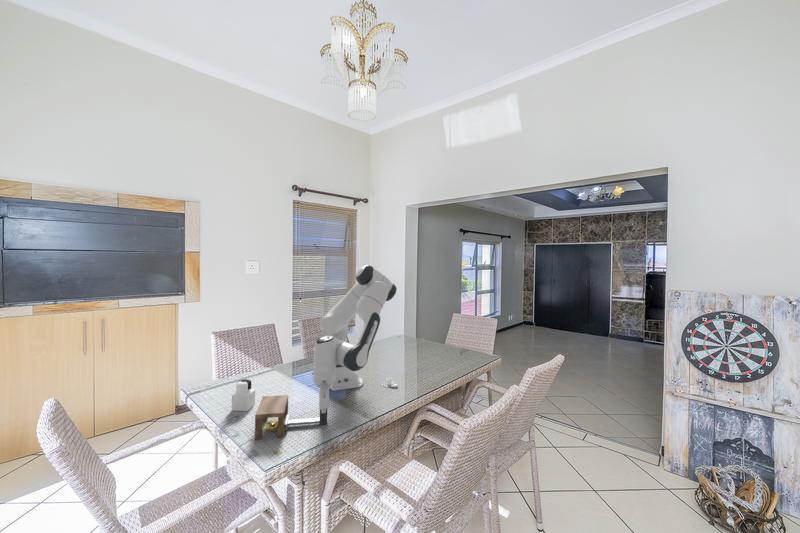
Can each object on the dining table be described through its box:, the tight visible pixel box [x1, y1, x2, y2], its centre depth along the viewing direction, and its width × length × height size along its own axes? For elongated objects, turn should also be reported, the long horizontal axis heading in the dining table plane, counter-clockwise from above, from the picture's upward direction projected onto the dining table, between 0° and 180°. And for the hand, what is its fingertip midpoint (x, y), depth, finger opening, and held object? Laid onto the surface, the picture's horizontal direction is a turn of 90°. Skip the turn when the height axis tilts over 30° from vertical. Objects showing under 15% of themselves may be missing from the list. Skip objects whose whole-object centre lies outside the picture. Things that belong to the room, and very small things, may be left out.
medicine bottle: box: [231, 378, 256, 412], centre depth 148 cm, size 7×7×12 cm
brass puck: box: [265, 419, 278, 432], centre depth 132 cm, size 5×5×2 cm
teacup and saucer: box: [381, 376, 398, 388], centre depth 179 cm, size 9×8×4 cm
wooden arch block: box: [254, 394, 289, 441], centre depth 132 cm, size 10×16×10 cm, turn 13°
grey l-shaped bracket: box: [284, 409, 328, 432], centre depth 135 cm, size 17×8×12 cm, turn 103°
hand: (323, 410), depth 136 cm, fingers closed on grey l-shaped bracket, 2 cm apart
